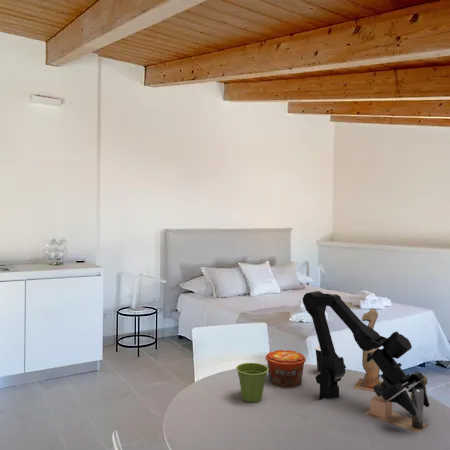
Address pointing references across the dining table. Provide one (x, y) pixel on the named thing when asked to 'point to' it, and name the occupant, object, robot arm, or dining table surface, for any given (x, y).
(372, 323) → the bird sculpture
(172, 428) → the dining table surface
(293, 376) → the food container
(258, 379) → the plant pot
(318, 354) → the dixie cup
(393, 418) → the wooden base with cylinder
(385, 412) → the cube
